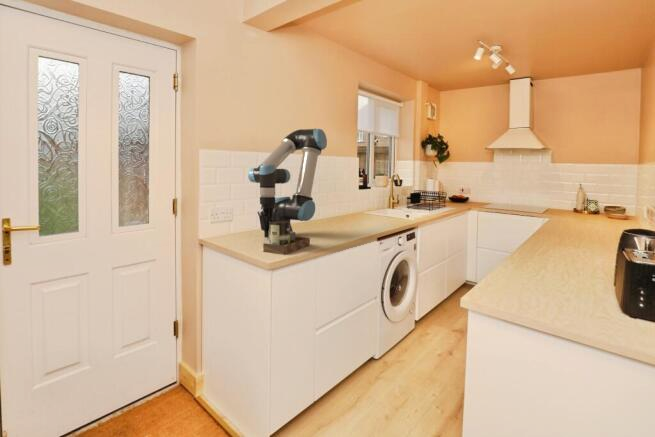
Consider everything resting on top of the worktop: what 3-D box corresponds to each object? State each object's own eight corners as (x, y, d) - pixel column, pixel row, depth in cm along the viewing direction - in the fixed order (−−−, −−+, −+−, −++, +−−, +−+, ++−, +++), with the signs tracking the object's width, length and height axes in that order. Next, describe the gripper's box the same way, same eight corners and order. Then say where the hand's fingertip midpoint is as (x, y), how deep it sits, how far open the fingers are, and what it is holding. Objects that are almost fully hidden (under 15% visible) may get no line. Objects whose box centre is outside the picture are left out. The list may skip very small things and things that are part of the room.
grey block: (288, 244, 193) (288, 231, 192) (295, 245, 191) (295, 231, 190) (282, 246, 187) (282, 232, 186) (288, 247, 185) (288, 233, 185)
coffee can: (290, 247, 185) (290, 219, 183) (289, 251, 175) (289, 222, 173) (270, 247, 185) (270, 219, 183) (267, 251, 175) (267, 222, 173)
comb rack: (290, 243, 195) (290, 235, 195) (309, 245, 190) (309, 238, 189) (263, 251, 175) (263, 243, 174) (283, 254, 169) (283, 246, 169)
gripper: (269, 195, 186) (269, 240, 189) (252, 196, 175) (253, 244, 178) (281, 195, 182) (281, 242, 186) (265, 197, 171) (265, 246, 174)
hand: (267, 243), depth 182 cm, fingers closed
